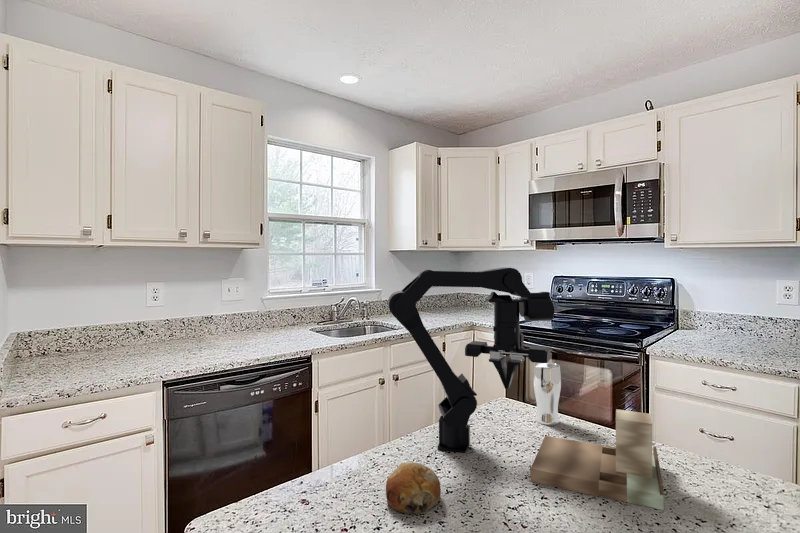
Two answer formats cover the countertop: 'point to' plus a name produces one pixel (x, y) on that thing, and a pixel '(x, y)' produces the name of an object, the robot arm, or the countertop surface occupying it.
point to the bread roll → (412, 488)
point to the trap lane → (595, 472)
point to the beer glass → (547, 392)
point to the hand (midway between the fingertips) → (507, 388)
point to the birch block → (634, 443)
